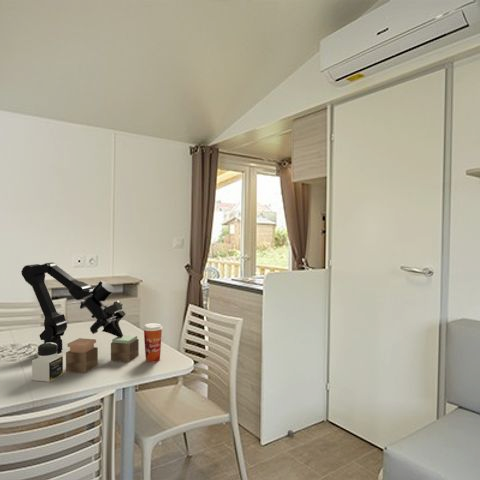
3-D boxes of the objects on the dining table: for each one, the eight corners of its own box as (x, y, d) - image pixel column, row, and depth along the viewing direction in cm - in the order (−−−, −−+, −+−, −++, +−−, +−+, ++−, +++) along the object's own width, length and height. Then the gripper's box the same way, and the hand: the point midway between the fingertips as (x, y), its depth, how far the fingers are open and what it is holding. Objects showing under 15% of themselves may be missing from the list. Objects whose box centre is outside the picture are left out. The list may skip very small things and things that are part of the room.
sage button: (112, 357, 153) (112, 339, 153) (121, 351, 160) (121, 334, 160) (128, 358, 151) (128, 340, 151) (137, 352, 158) (137, 335, 158)
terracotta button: (67, 362, 141) (67, 343, 141) (79, 356, 148) (79, 338, 148) (84, 364, 140) (84, 344, 139) (96, 357, 147) (96, 339, 146)
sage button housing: (110, 360, 153) (110, 343, 152) (121, 354, 160) (121, 337, 160) (129, 361, 151) (129, 344, 151) (138, 355, 159) (138, 338, 158)
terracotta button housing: (65, 371, 141) (65, 352, 141) (79, 363, 149) (79, 346, 148) (85, 373, 139) (85, 354, 139) (97, 365, 147) (97, 347, 147)
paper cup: (145, 364, 149) (145, 328, 148) (141, 358, 155) (141, 324, 155) (165, 361, 152) (165, 326, 152) (160, 355, 159) (159, 322, 159)
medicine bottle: (49, 382, 131) (49, 347, 130) (31, 380, 132) (31, 346, 132) (63, 374, 138) (63, 341, 137) (46, 373, 139) (45, 340, 139)
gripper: (96, 299, 147) (122, 329, 145) (121, 292, 165) (145, 318, 163) (78, 319, 149) (104, 348, 147) (105, 309, 167) (128, 335, 165)
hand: (121, 336), depth 156 cm, fingers closed, pressing on sage button
